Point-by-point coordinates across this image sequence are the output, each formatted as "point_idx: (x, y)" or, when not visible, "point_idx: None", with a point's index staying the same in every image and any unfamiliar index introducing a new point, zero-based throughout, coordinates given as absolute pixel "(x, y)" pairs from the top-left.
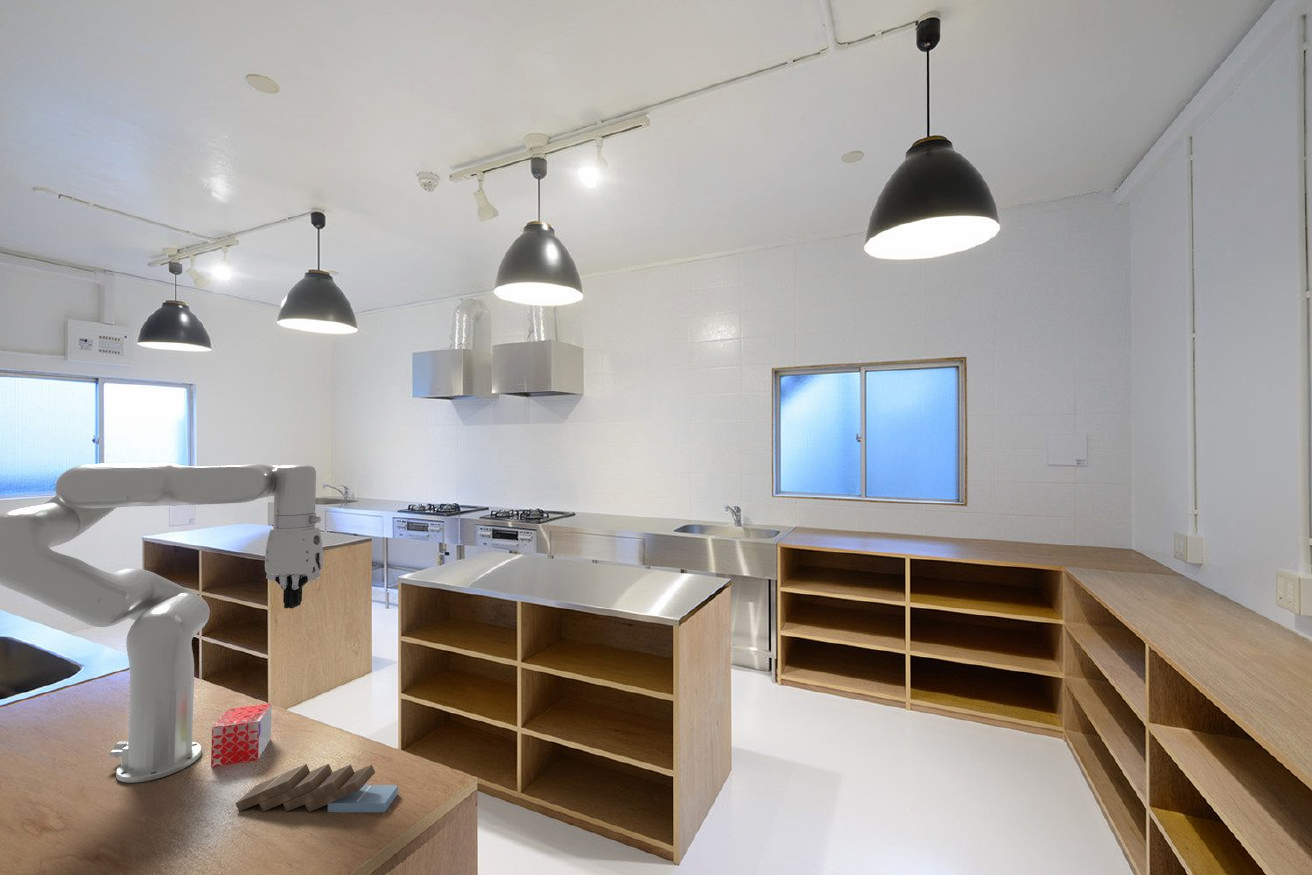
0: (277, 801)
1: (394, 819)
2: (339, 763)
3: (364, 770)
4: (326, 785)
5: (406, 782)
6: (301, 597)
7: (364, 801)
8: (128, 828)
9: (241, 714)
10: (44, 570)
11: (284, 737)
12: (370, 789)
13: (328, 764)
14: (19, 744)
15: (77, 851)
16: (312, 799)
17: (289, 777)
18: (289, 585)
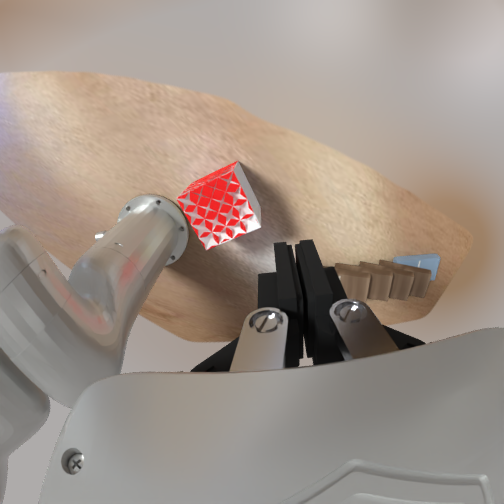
0: None
1: (437, 281)
2: (368, 208)
3: (426, 281)
4: (399, 299)
5: (439, 236)
6: (336, 276)
7: None
8: (230, 313)
9: (201, 194)
10: (4, 463)
11: (254, 153)
12: (421, 265)
13: (392, 276)
14: (16, 221)
15: (219, 333)
16: None
17: (362, 296)
18: (294, 362)
